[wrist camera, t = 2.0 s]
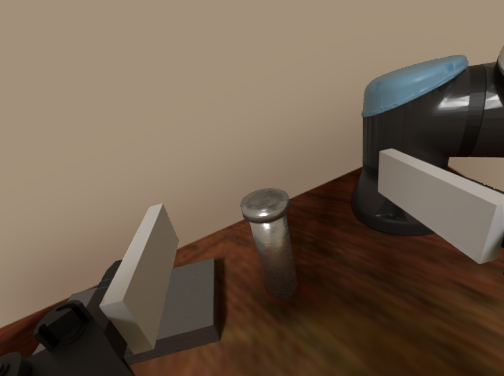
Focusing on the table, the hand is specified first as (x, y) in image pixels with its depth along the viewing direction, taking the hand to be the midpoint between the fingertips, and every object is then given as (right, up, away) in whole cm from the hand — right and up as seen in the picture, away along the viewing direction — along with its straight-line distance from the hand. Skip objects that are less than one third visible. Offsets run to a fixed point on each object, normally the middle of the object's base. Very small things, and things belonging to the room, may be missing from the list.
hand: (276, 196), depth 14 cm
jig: (-17, -18, +19) cm, 31 cm away
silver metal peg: (+3, -13, +19) cm, 23 cm away
